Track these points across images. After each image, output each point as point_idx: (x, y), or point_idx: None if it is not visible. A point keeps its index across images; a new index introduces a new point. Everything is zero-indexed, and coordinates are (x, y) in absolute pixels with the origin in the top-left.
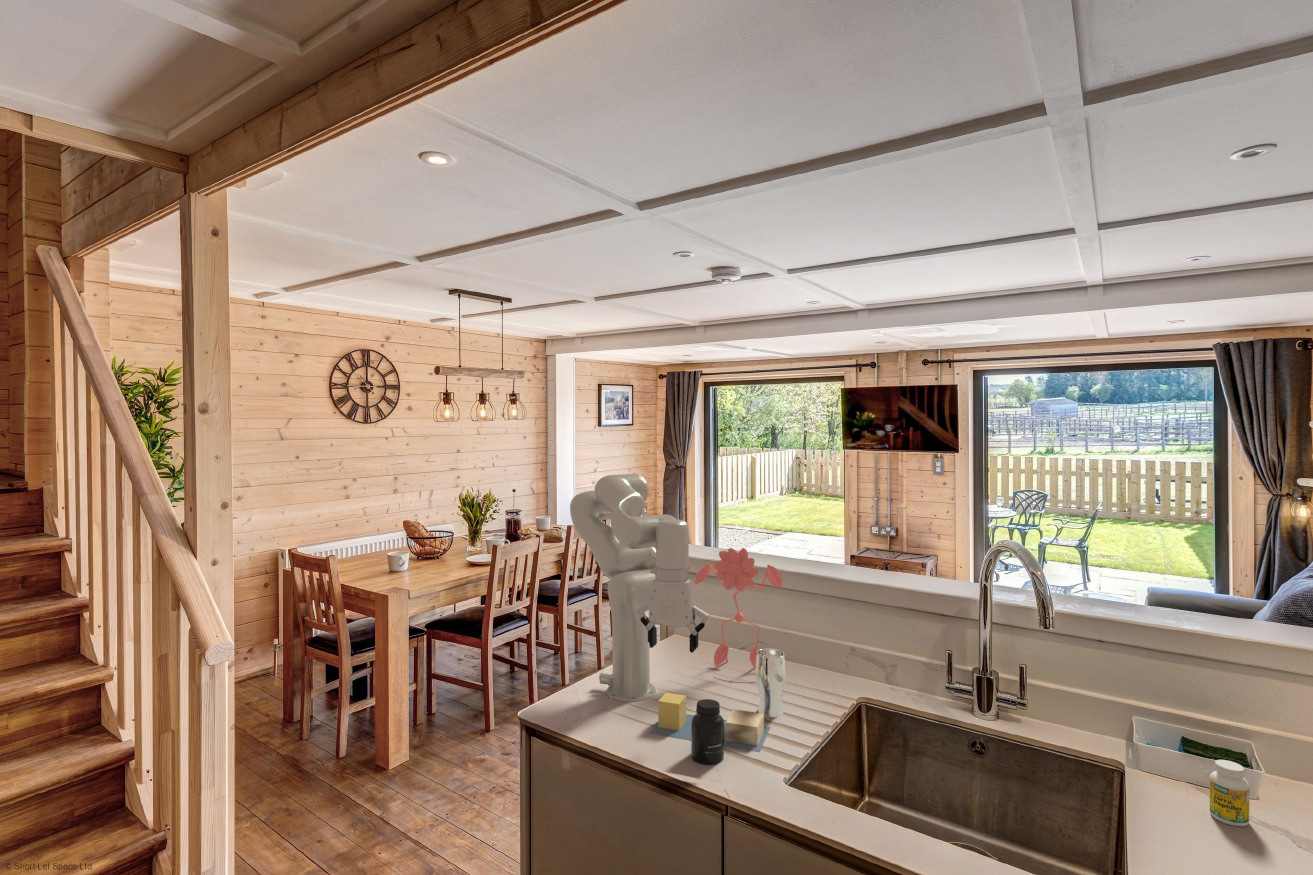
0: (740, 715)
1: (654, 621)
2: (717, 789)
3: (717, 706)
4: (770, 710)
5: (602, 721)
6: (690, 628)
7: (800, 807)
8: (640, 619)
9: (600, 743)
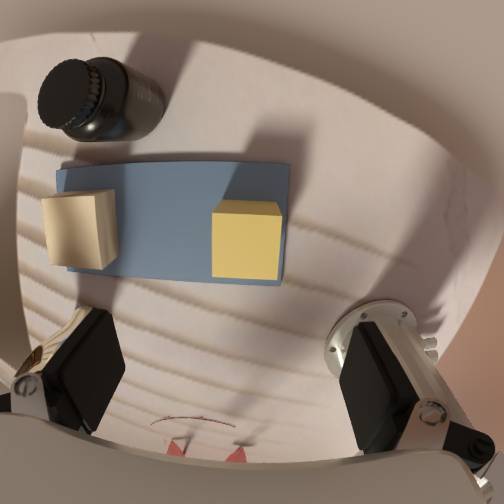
0: (79, 242)
1: (415, 469)
2: (105, 34)
3: (40, 91)
4: (77, 316)
5: (405, 211)
6: (33, 414)
7: (14, 65)
8: (492, 443)
9: (380, 111)
